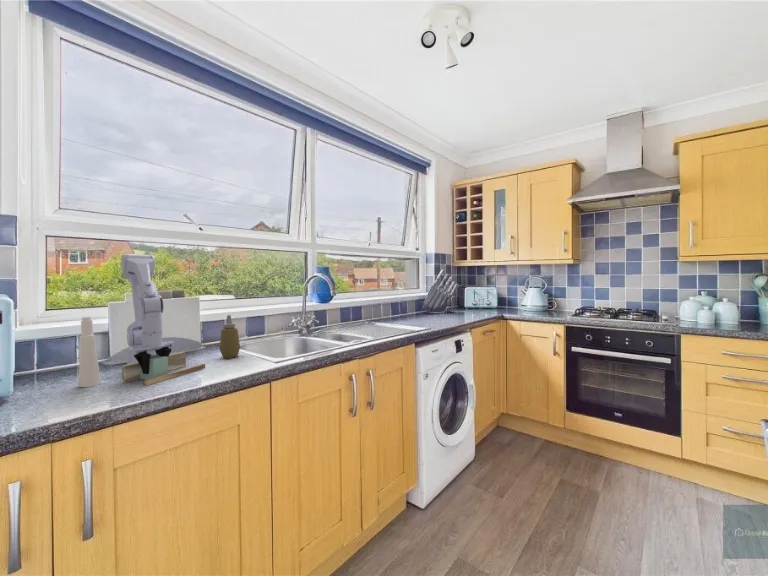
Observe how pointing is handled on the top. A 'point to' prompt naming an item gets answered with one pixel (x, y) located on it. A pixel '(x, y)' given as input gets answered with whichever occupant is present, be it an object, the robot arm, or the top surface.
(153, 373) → the teal box
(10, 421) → the top surface
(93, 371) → the cosmetic bottle
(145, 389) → the top surface
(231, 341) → the squeeze bottle
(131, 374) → the cleat board
